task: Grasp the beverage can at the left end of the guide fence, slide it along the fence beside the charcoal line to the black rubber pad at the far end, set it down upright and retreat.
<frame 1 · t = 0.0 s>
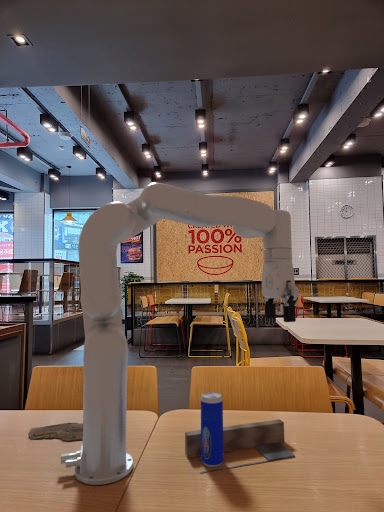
hand: (279, 319, 90), 31 cm above the table, tool pointing down, fingers open, 9 cm apart
guide fence: (243, 456, 80), on the table
beverage can: (212, 463, 77), on the table
wooden fragment: (72, 434, 93), on the table
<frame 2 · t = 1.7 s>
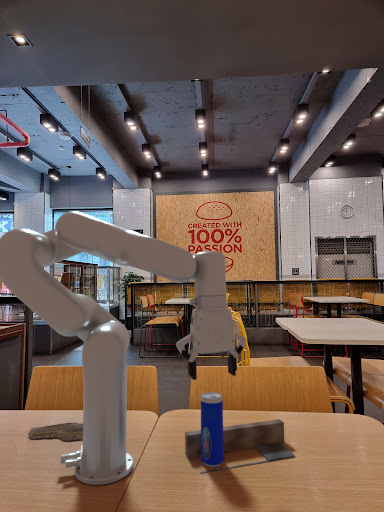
hand: (212, 376, 79), 19 cm above the table, tool pointing down, fingers open, 9 cm apart
nothing on the table moved.
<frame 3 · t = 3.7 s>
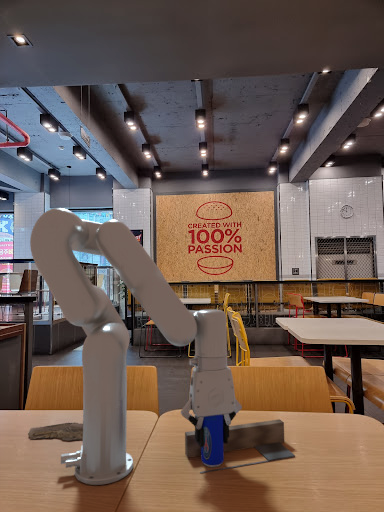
hand: (212, 441, 78), 4 cm above the table, tool pointing down, fingers closed on beverage can, 5 cm apart
beverage can: (212, 463, 77), on the table, touching gripper
everything else where it was.
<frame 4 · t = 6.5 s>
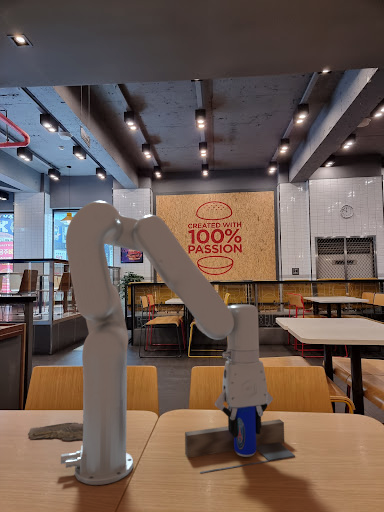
hand: (245, 432, 80), 5 cm above the table, tool pointing down, fingers closed on beverage can, 5 cm apart
beverage can: (245, 453, 80), point 1 cm above the table, touching gripper
everything else where it was.
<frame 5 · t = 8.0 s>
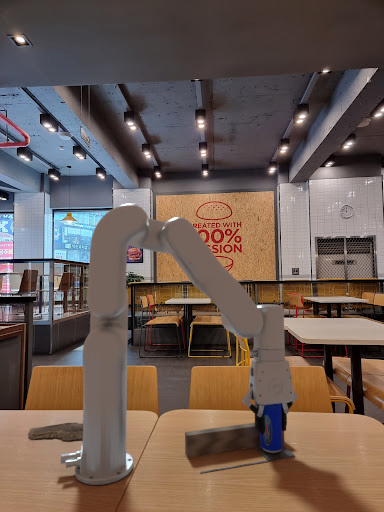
hand: (271, 429, 82), 5 cm above the table, tool pointing down, fingers closed on beverage can, 5 cm apart
beverage can: (271, 449, 81), point 1 cm above the table, touching gripper
everything else where it was.
when the fingers open (5 cm above the table, at t = 9.4 s): beverage can stays where it is, resting on guide fence.
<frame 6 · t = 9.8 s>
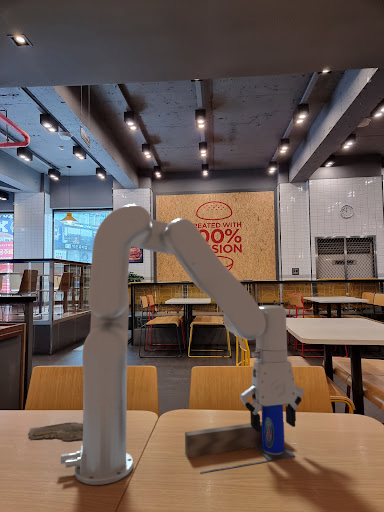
hand: (273, 427, 82), 6 cm above the table, tool pointing down, fingers open, 9 cm apart
beverage can: (273, 451, 82), resting on guide fence
everything else where it was.
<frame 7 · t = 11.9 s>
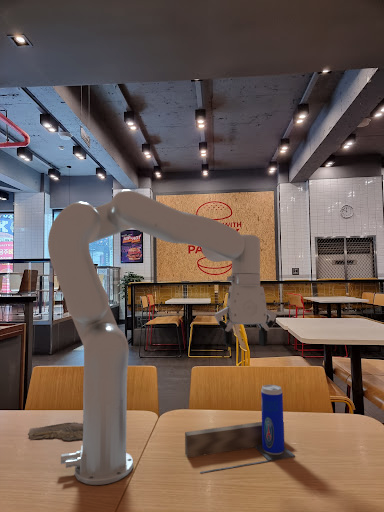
hand: (245, 345, 89), 25 cm above the table, tool pointing down, fingers open, 9 cm apart
nothing on the table moved.
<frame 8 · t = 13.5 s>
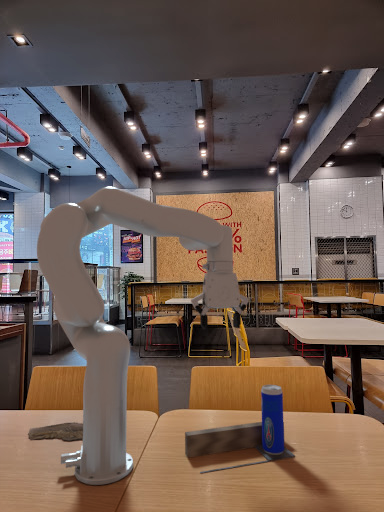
hand: (220, 328, 95), 28 cm above the table, tool pointing down, fingers open, 9 cm apart
nothing on the table moved.
at the end: beverage can 0.4 cm from the target spot, resting on guide fence; beverage can tilted 0°; the gripper is holding nothing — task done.
